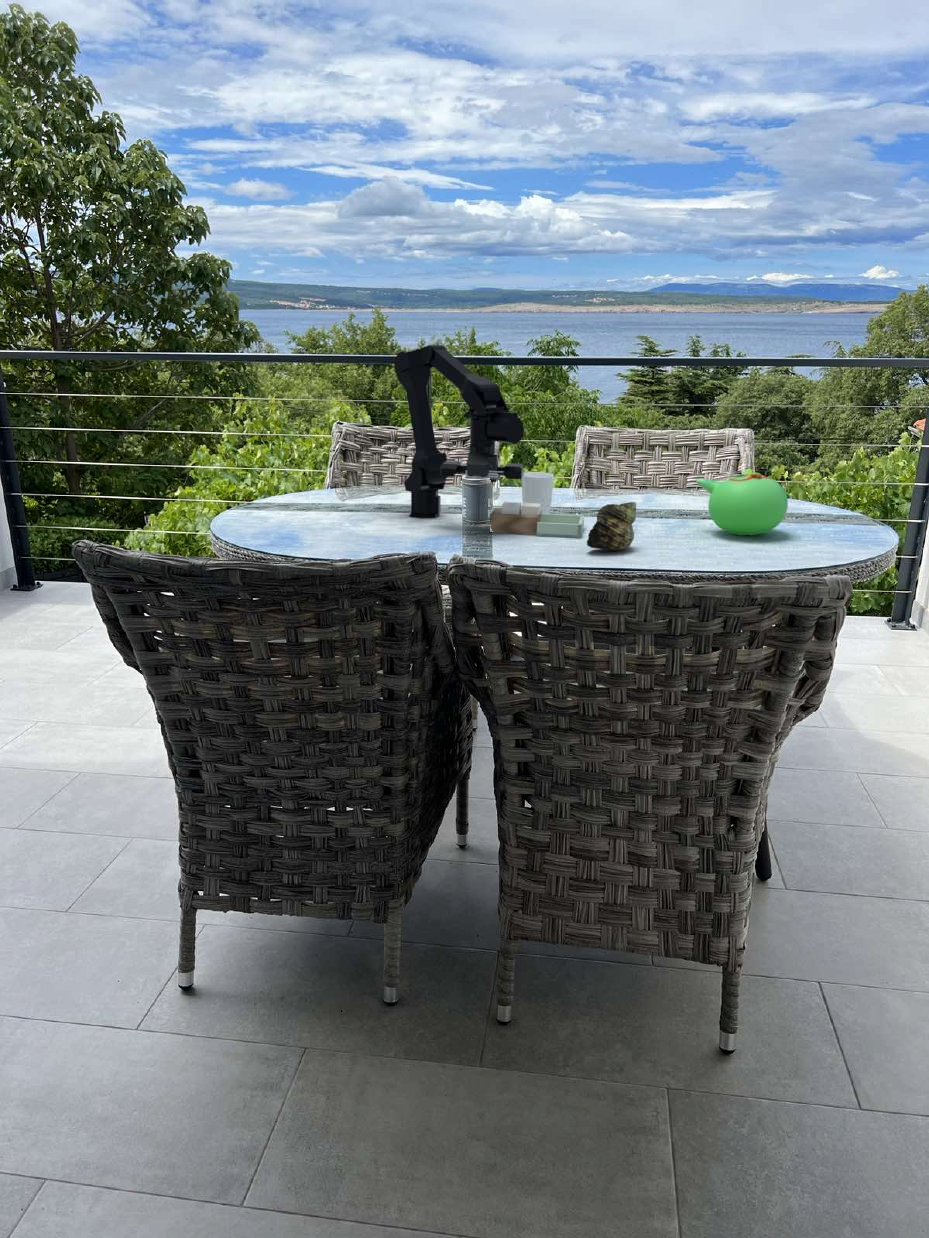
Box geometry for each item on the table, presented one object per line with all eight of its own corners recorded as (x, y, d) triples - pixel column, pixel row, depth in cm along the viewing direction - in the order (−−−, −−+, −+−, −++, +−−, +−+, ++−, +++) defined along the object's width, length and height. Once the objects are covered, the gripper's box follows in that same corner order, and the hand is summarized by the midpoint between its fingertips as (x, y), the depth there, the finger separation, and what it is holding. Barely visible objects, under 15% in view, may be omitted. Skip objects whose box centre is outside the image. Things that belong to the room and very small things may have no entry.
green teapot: (738, 545, 217) (745, 478, 213) (688, 530, 231) (693, 467, 227) (799, 537, 225) (806, 473, 221) (747, 523, 239) (753, 463, 235)
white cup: (550, 518, 243) (551, 477, 240) (518, 516, 244) (519, 476, 241) (554, 512, 250) (555, 472, 247) (523, 510, 252) (524, 471, 249)
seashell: (577, 544, 217) (580, 498, 214) (629, 543, 218) (631, 498, 215) (587, 555, 207) (590, 508, 204) (641, 555, 208) (644, 507, 205)
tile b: (521, 514, 226) (521, 506, 226) (523, 511, 230) (523, 502, 230) (538, 515, 226) (539, 506, 225) (540, 512, 230) (540, 503, 229)
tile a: (501, 513, 227) (502, 505, 226) (504, 510, 231) (504, 502, 230) (519, 514, 226) (519, 506, 226) (521, 511, 230) (521, 502, 230)
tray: (536, 536, 224) (537, 522, 223) (541, 526, 234) (541, 513, 233) (581, 538, 222) (581, 525, 221) (583, 527, 232) (584, 515, 232)
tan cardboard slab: (489, 532, 226) (489, 515, 225) (494, 524, 235) (494, 508, 234) (537, 535, 225) (537, 517, 223) (540, 526, 233) (541, 510, 232)
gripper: (435, 442, 219) (435, 512, 223) (519, 445, 216) (517, 515, 221) (444, 436, 229) (444, 503, 234) (525, 439, 226) (523, 506, 231)
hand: (481, 507), depth 230 cm, fingers closed
